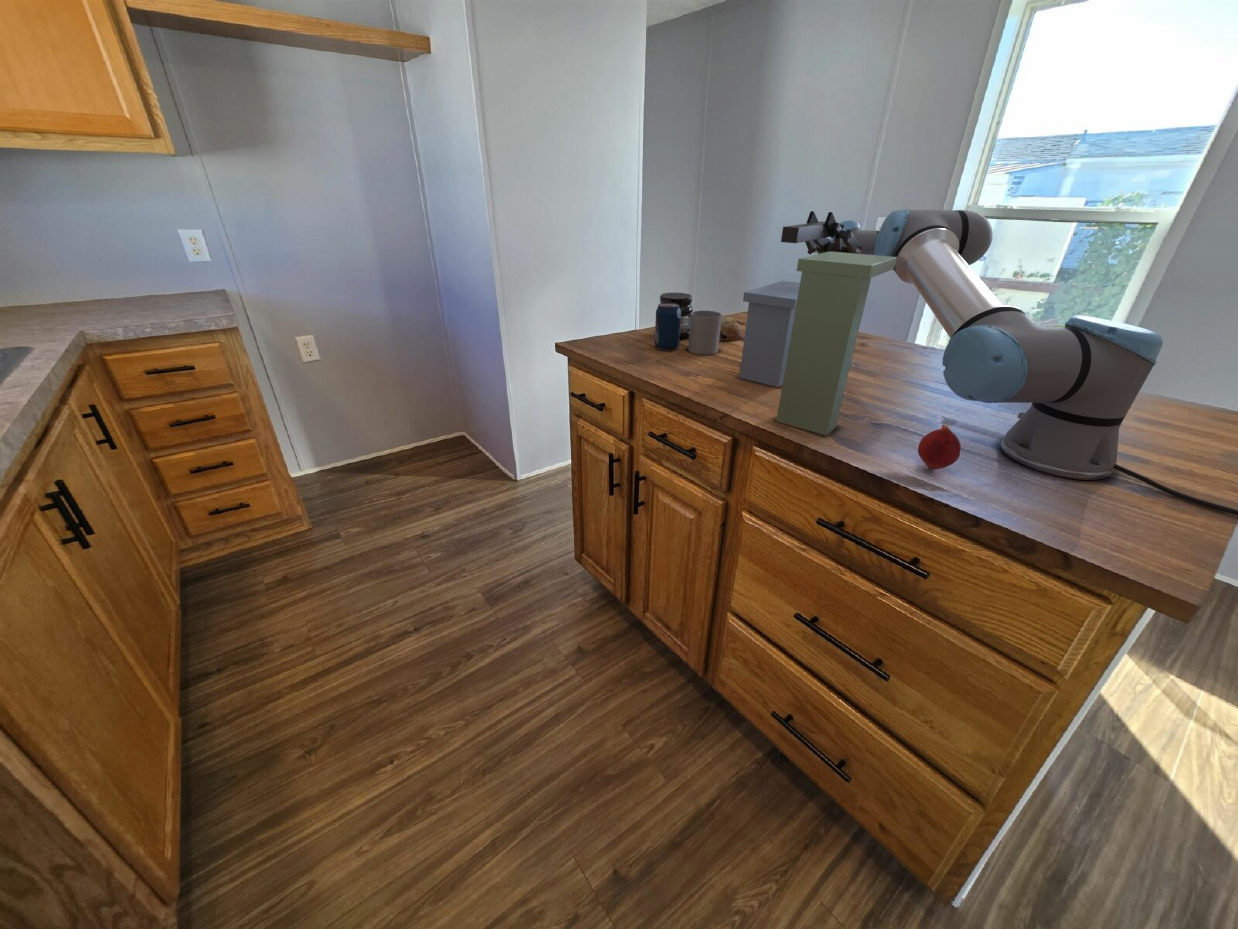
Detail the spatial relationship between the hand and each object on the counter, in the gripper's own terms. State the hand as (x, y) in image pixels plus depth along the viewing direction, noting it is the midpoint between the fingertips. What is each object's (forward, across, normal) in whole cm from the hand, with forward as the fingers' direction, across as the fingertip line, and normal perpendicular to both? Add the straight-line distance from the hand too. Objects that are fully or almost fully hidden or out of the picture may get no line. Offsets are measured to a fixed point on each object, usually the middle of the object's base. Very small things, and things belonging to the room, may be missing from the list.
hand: (819, 217), depth 115 cm
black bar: (+1, 0, -6) cm, 6 cm away
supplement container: (-19, +39, -29) cm, 52 cm away
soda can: (-8, +33, -35) cm, 49 cm away
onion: (+16, -41, -49) cm, 66 cm away
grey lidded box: (-8, 0, -35) cm, 36 cm away
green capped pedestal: (+9, -18, -45) cm, 49 cm away
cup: (-13, +24, -33) cm, 43 cm away
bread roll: (-26, +27, -25) cm, 45 cm away
